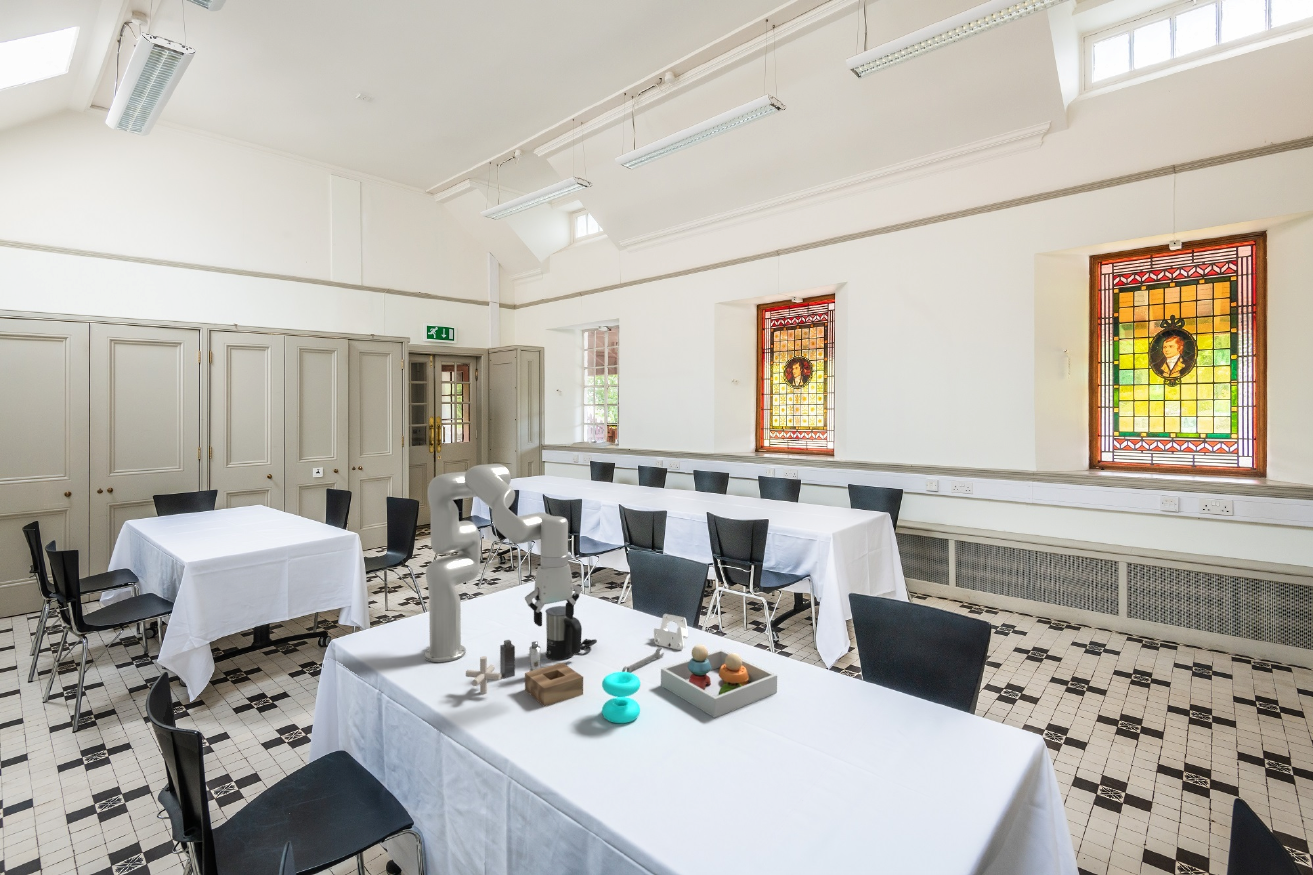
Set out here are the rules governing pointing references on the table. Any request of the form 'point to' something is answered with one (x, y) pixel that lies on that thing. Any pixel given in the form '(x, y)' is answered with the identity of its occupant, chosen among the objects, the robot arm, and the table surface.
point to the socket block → (553, 684)
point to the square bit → (507, 659)
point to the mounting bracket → (670, 637)
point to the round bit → (534, 656)
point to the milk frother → (563, 634)
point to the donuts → (621, 697)
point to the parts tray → (726, 702)
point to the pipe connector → (483, 675)
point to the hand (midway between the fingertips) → (554, 621)
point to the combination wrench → (644, 660)
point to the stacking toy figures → (728, 672)
